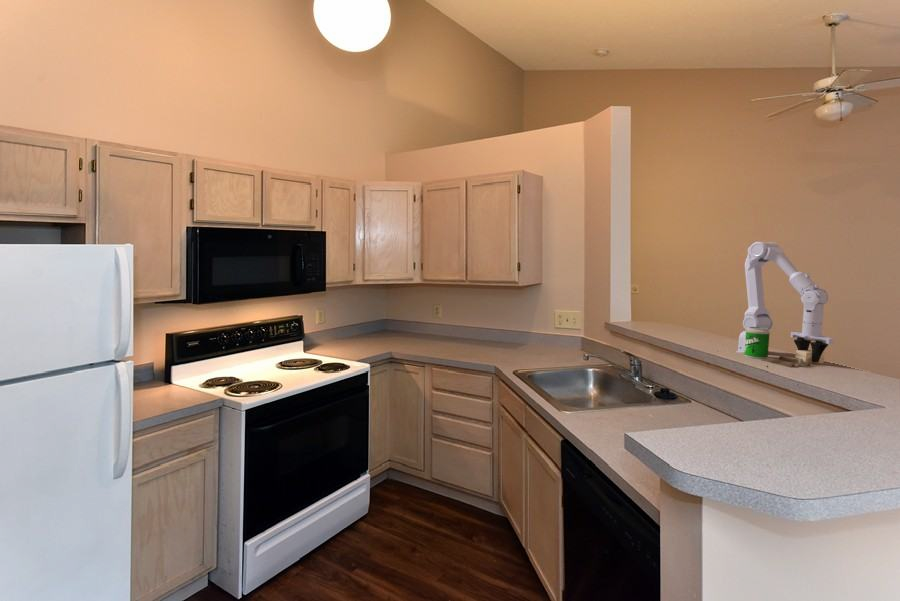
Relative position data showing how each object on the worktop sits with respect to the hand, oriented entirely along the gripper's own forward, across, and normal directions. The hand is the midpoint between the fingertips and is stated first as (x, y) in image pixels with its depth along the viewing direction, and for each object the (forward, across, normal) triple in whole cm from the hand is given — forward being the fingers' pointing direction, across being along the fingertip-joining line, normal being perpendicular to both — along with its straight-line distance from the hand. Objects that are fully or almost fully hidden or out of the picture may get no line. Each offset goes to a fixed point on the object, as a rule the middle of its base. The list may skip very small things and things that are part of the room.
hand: (809, 360), depth 176 cm
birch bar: (+1, 0, 0) cm, 1 cm away
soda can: (+2, -11, -12) cm, 16 cm away
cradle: (+2, 0, -5) cm, 5 cm away
